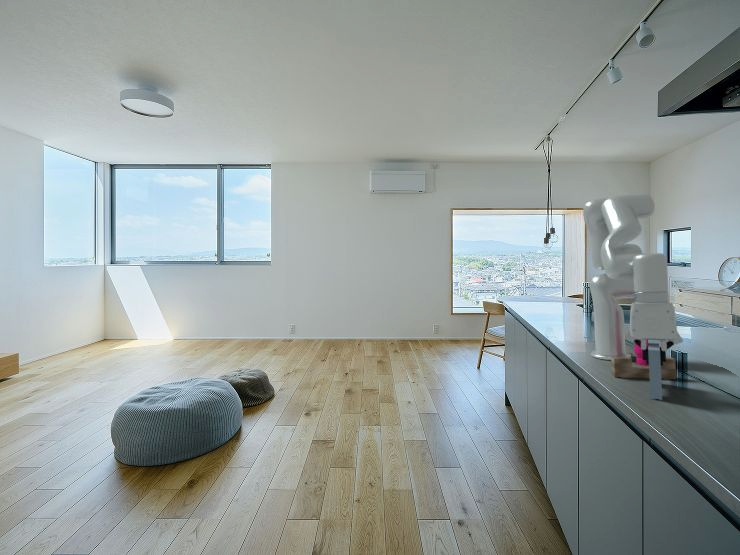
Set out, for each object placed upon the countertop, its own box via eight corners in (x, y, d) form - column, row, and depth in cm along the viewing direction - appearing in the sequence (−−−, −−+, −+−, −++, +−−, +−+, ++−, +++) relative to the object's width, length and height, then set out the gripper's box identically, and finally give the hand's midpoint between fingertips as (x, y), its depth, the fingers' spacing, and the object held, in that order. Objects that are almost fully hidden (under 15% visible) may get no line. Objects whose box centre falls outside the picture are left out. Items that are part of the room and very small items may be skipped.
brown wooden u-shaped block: (614, 377, 114) (613, 358, 114) (612, 375, 116) (611, 356, 116) (676, 379, 109) (675, 359, 109) (672, 376, 111) (671, 357, 111)
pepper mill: (665, 366, 122) (662, 307, 122) (641, 366, 123) (638, 308, 123) (653, 360, 129) (650, 305, 129) (630, 361, 131) (627, 306, 130)
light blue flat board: (649, 382, 108) (647, 338, 108) (660, 383, 106) (658, 339, 106) (650, 398, 95) (648, 349, 95) (662, 400, 94) (659, 350, 94)
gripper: (615, 299, 102) (618, 363, 103) (691, 299, 93) (694, 370, 93) (617, 296, 108) (620, 358, 109) (688, 296, 99) (691, 363, 99)
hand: (654, 363), depth 101 cm, fingers closed on light blue flat board, 2 cm apart
